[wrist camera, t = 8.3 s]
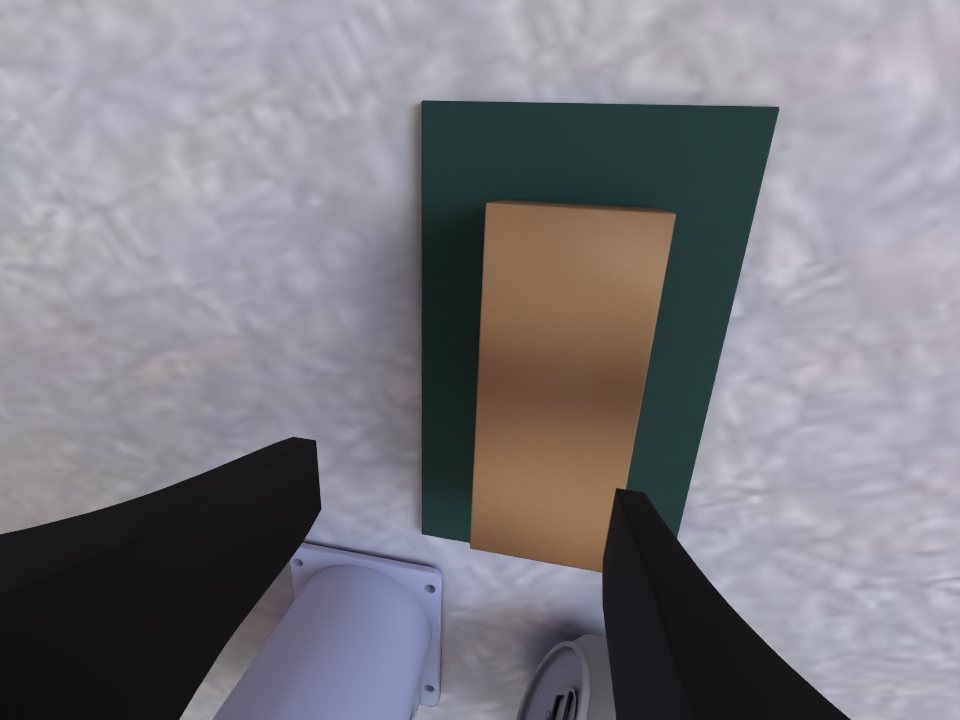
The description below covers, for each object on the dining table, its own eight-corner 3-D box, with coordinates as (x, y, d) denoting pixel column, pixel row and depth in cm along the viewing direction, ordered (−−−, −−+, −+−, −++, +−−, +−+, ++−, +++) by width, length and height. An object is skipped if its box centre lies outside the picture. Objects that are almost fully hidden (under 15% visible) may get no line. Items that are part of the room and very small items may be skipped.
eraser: (605, 509, 20) (610, 574, 16) (487, 490, 21) (469, 549, 17) (656, 207, 15) (676, 213, 12) (504, 198, 16) (485, 202, 13)
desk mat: (666, 571, 21) (667, 578, 20) (424, 528, 23) (421, 534, 22) (775, 108, 14) (780, 106, 14) (424, 102, 16) (421, 100, 16)
